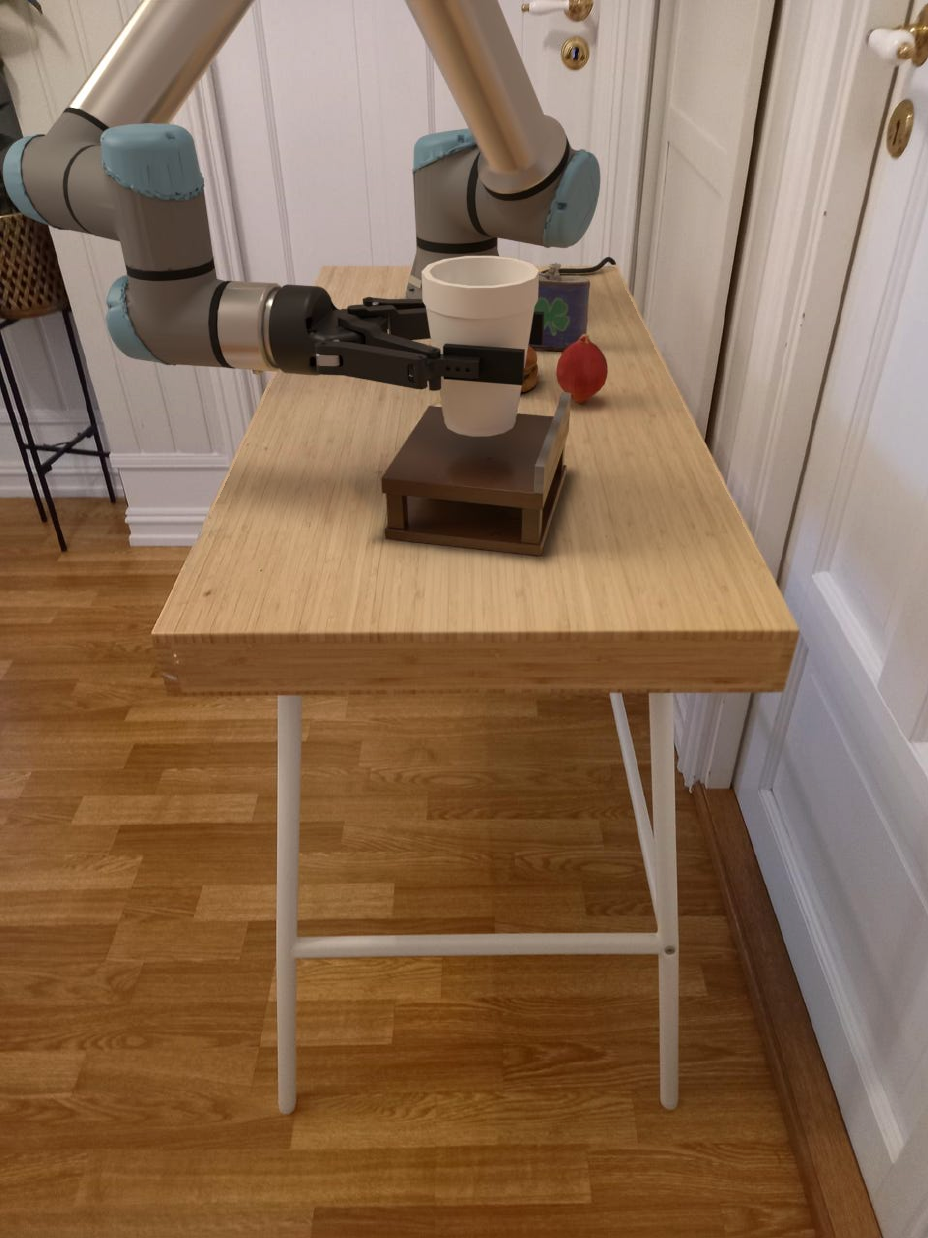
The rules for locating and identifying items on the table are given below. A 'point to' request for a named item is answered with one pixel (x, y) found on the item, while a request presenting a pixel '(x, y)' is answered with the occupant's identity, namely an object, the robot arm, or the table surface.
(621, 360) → the table surface
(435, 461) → the shelf
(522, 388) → the burger
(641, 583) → the table surface
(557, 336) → the flask
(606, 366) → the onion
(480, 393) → the foam cup
